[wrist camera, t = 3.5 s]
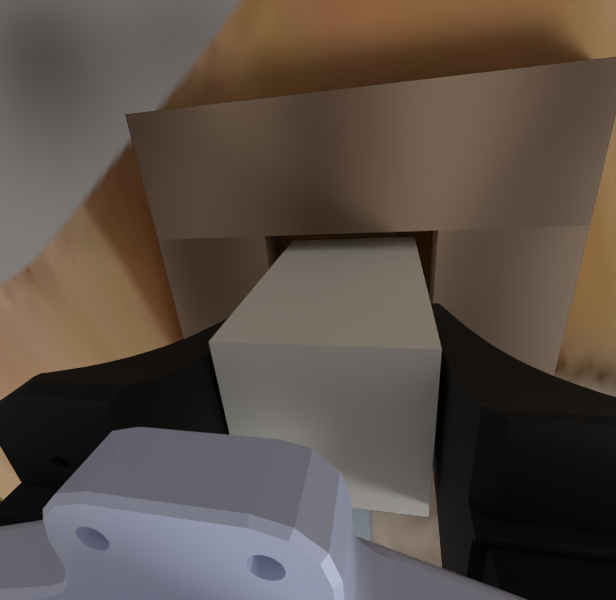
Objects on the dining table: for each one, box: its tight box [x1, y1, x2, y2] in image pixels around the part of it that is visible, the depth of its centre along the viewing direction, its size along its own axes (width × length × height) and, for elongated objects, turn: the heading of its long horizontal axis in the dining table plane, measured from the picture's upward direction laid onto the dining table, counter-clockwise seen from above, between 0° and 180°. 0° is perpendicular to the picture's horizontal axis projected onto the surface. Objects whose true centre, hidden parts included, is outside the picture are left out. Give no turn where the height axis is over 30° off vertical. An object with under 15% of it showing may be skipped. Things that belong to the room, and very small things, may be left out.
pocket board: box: [126, 57, 616, 376], centre depth 14 cm, size 14×14×2 cm
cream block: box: [209, 237, 442, 517], centre depth 11 cm, size 4×4×8 cm
